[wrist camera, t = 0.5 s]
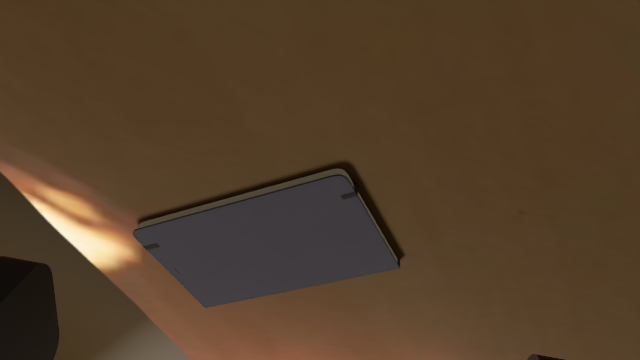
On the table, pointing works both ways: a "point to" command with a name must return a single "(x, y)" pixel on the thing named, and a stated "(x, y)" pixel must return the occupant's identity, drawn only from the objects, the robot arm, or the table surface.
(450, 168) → the table surface
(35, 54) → the table surface
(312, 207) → the notebook
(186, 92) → the table surface
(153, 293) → the table surface
